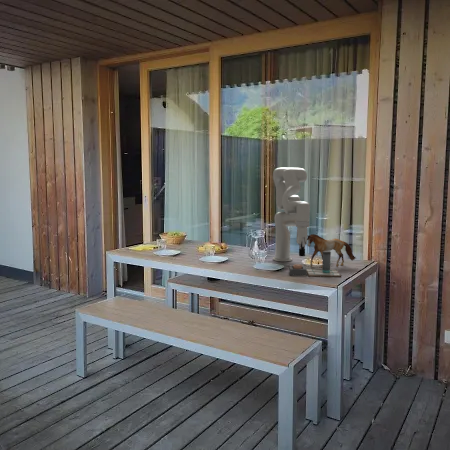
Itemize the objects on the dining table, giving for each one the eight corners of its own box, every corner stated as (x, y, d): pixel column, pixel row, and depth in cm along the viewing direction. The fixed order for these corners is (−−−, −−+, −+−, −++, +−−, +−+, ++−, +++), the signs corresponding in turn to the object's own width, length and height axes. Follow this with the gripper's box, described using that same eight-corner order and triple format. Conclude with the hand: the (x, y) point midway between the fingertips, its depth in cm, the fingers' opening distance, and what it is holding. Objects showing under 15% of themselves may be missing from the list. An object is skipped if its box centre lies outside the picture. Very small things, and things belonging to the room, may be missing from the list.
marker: (321, 271, 271) (322, 250, 269) (329, 271, 270) (330, 250, 269) (322, 273, 266) (323, 252, 264) (330, 273, 266) (331, 252, 264)
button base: (289, 271, 273) (289, 265, 273) (304, 271, 273) (304, 266, 272) (290, 275, 264) (290, 269, 264) (306, 275, 264) (306, 269, 263)
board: (305, 270, 276) (305, 268, 276) (336, 270, 275) (336, 269, 275) (308, 276, 261) (308, 275, 261) (341, 277, 260) (341, 275, 260)
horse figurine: (306, 268, 282) (307, 234, 279) (303, 265, 289) (303, 232, 287) (356, 267, 285) (357, 234, 282) (351, 264, 292) (352, 232, 290)
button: (292, 268, 271) (293, 264, 271) (301, 268, 271) (301, 264, 270) (293, 270, 266) (293, 265, 266) (302, 270, 266) (302, 266, 265)
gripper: (294, 222, 272) (293, 253, 274) (297, 225, 257) (297, 258, 260) (307, 222, 272) (306, 253, 274) (311, 225, 257) (310, 258, 259)
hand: (301, 256), depth 267 cm, fingers closed
